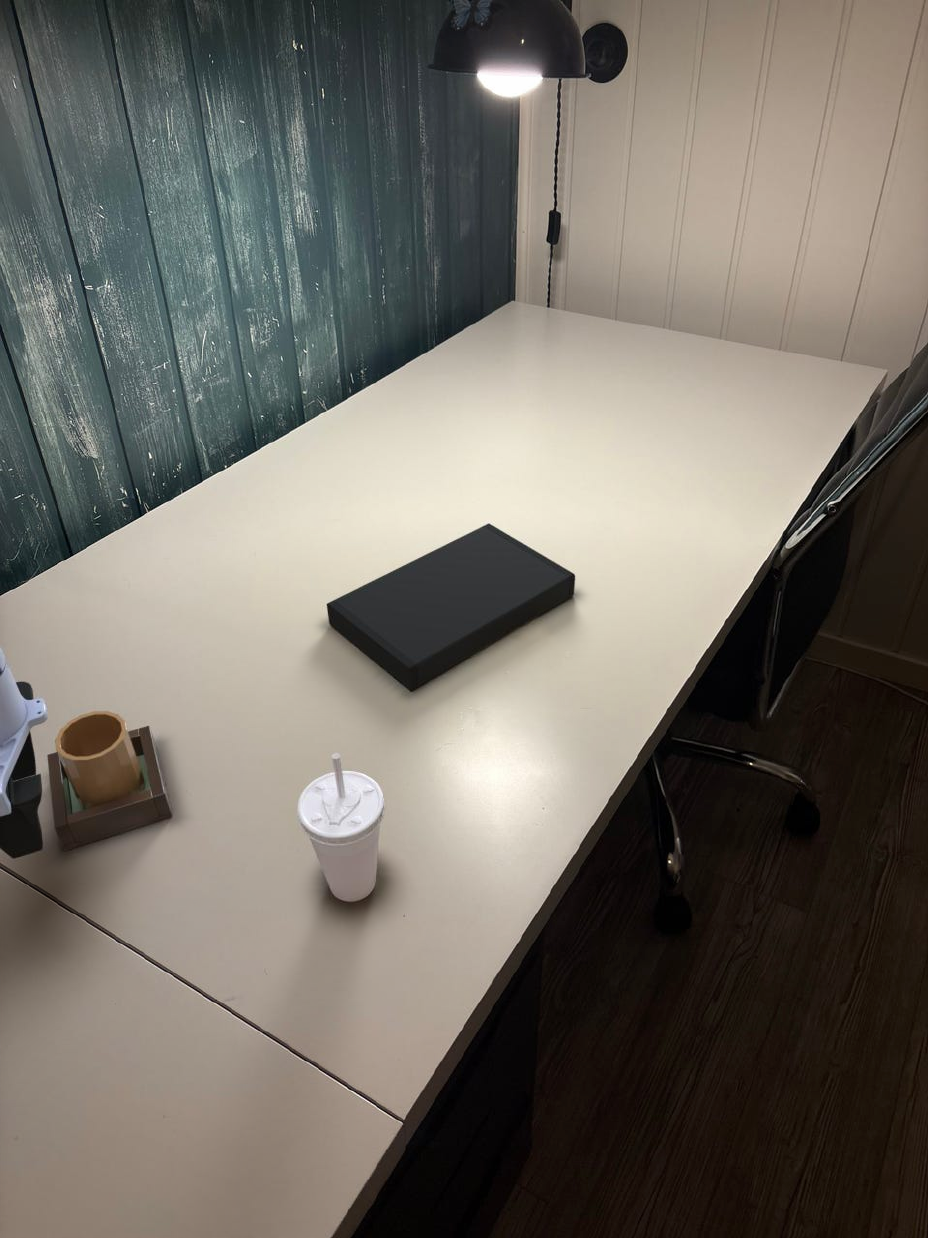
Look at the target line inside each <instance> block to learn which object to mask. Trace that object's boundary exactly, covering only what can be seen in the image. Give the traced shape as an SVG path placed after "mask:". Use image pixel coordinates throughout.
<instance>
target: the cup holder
mask: <svg viewBox="0 0 928 1238" xmlns="http://www.w3.org/2000/svg"><path fill="white" fill-rule="evenodd" d="M128 731H129V734H130V737H131V739H132V742H133V745H134V748H135V751H136V754H137V757H138V760H139V762H140V765H141V768H142V771H143V774H144V778H145V783H146V785H145V790H144V792H141V793H137V794H134V795H131V796H128V797H124V798H121V799H118V800H115V801H111V802H108V803H105V804H102V805H99V806H95V807H92V808H89V809H86V810H83V809H82V807H81V805H80V804H79V802H78V800H77V798H76V795H75V793H74V791H73V788H72V786H71V784H70V781H69V779H68V777H67V774H66V772H65V770H64V767H63V765H62V763H61V760H60V758H59V756H58V753H57V751H56V752H52V753H49V754H46V755H47V756H46V757H47V766H48V775H49V776H48V777H49V786H50V796H51V806H52V817H53V826H54V830H55V832H56V834H57V836H58V839H59V840H60V843H61V846H62V847H63V849H64V851H66V852H67V851H69V850H73V849H75V848H78V847H82V846H84V845H88V844H91V843H95V842H97V841H100V840H104V839H107V838H111V837H113V836H116V835H120V834H122V833H125V832H128V831H132V830H135V829H139V828H142V827H144V826H148V825H150V824H153V823H157V822H159V821H163V820H166V819H169V818H172V817H173V812H172V808H171V803H170V798H169V795H168V789H167V786H166V781H165V779H164V773H163V769H162V765H161V760H160V756H159V751H158V748H157V744H156V741H155V738H154V735H153V732H152V729H151V726H150V725H146V726H142V727H139V728H135V729H131V730H128Z"/></svg>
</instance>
